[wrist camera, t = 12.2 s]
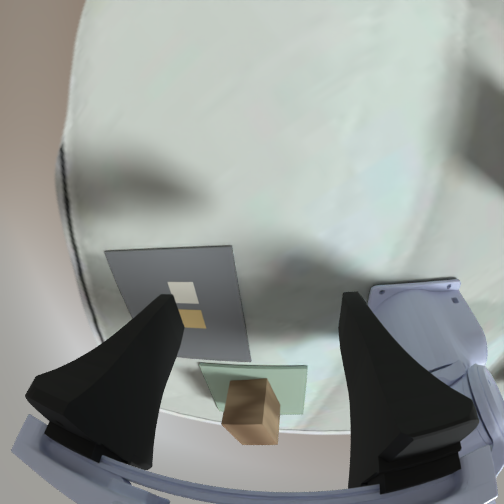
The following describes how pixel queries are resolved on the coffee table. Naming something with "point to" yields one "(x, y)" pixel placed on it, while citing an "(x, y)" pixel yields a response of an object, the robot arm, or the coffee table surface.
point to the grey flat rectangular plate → (189, 295)
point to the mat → (280, 378)
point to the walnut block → (252, 412)
